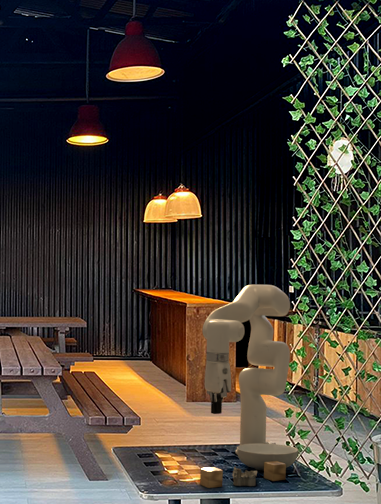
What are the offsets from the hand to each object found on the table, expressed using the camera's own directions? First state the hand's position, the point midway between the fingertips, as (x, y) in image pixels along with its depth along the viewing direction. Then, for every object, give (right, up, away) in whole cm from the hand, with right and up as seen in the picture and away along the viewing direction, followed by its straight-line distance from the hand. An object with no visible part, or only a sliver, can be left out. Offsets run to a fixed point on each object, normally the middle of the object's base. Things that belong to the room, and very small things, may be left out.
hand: (216, 413), depth 282 cm
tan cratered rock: (+8, -19, -17) cm, 26 cm away
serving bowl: (+17, -20, +6) cm, 27 cm away
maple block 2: (+18, -19, -9) cm, 28 cm away
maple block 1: (-2, -18, -22) cm, 28 cm away
